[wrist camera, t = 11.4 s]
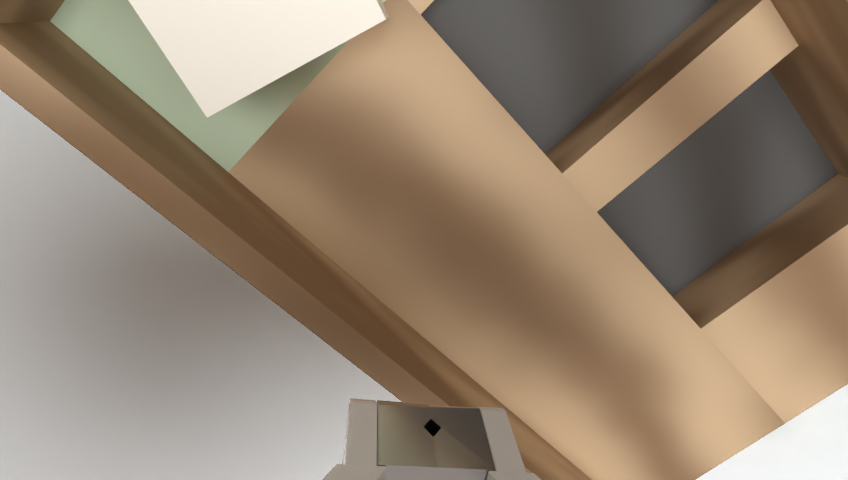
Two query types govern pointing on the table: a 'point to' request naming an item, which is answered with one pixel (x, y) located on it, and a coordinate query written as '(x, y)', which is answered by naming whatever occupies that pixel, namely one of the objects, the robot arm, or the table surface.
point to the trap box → (513, 204)
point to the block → (249, 39)
